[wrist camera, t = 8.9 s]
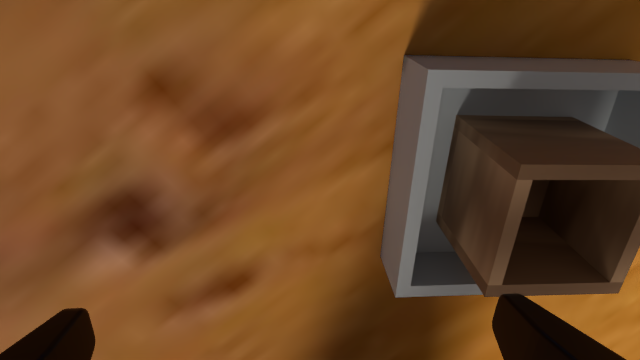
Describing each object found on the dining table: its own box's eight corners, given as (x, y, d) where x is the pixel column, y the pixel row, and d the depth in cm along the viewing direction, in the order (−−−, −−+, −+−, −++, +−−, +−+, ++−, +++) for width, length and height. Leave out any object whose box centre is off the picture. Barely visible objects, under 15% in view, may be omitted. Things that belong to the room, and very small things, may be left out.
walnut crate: (539, 220, 23) (618, 293, 18) (435, 221, 22) (484, 296, 17) (572, 116, 20) (676, 165, 15) (456, 115, 20) (521, 164, 15)
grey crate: (563, 251, 25) (604, 290, 22) (380, 256, 24) (395, 297, 21) (631, 59, 20) (695, 74, 17) (404, 55, 19) (428, 69, 16)
